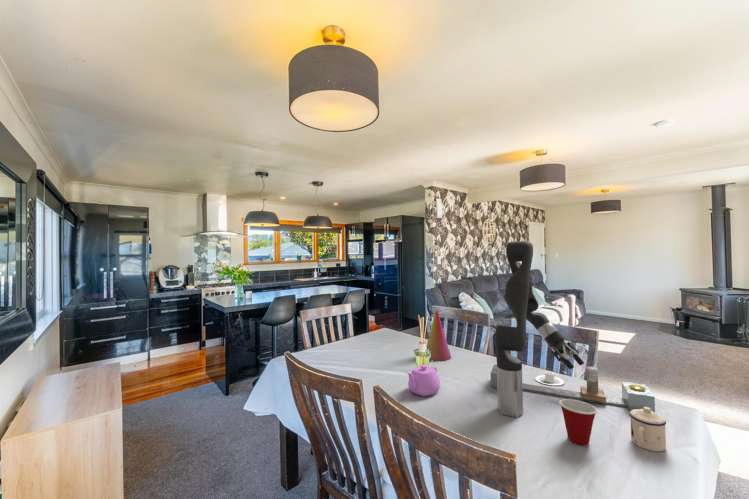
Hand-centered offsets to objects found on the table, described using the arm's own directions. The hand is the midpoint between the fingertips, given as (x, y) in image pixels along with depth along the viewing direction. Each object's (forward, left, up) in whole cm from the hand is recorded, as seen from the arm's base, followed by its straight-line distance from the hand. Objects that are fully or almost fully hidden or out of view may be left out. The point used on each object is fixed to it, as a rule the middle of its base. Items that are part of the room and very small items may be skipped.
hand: (577, 366), depth 142 cm
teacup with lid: (-34, -16, -12) cm, 39 cm away
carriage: (-3, -5, -11) cm, 12 cm away
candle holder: (+11, +11, -13) cm, 20 cm away
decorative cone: (+24, +70, -12) cm, 75 cm away
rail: (-3, +5, -12) cm, 13 cm away
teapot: (-26, +62, -12) cm, 68 cm away
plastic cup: (-40, +3, -12) cm, 42 cm away
